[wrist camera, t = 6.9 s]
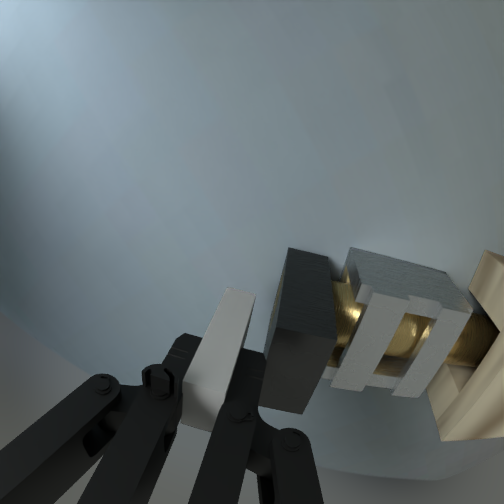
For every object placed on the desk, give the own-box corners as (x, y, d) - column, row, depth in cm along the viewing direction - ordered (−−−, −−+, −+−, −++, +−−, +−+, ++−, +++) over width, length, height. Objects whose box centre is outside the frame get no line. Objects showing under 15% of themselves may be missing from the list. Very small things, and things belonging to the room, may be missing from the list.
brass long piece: (271, 313, 20) (252, 404, 13) (288, 247, 18) (275, 326, 11) (483, 353, 19) (518, 423, 12) (512, 303, 17) (561, 368, 10)
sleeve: (320, 331, 21) (321, 385, 16) (350, 247, 18) (363, 290, 14) (408, 347, 20) (424, 398, 16) (445, 272, 18) (477, 315, 13)
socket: (420, 372, 21) (441, 441, 15) (484, 249, 17) (540, 303, 10) (479, 378, 21) (504, 436, 14) (541, 271, 16) (590, 318, 10)
